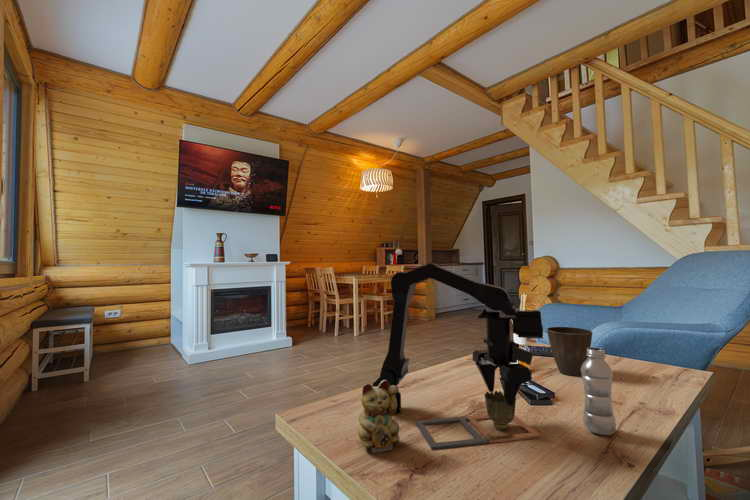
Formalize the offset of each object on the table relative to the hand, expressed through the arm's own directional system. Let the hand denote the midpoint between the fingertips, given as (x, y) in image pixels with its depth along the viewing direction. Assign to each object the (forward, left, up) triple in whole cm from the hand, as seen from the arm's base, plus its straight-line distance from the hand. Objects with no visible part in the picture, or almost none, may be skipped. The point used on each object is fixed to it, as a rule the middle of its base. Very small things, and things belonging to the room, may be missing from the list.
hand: (500, 398), depth 86 cm
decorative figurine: (-32, -2, -8) cm, 33 cm away
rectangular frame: (-7, 0, -7) cm, 10 cm away
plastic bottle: (+22, -7, -8) cm, 24 cm away
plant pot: (+48, +34, -8) cm, 59 cm away
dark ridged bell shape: (0, 0, -8) cm, 8 cm away
